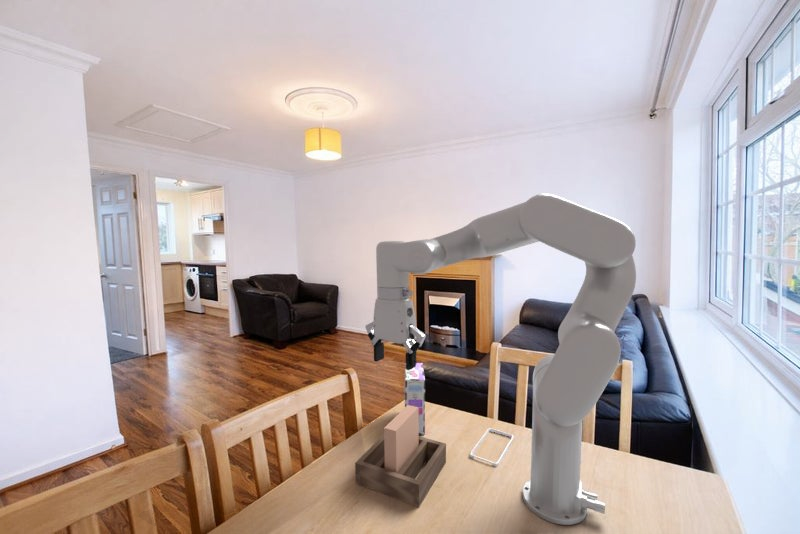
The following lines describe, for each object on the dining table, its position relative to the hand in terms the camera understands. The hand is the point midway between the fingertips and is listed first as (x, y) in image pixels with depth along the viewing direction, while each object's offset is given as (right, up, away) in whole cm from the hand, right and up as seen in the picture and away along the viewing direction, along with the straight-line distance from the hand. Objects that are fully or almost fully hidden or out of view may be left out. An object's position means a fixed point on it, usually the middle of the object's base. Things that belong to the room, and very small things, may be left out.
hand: (394, 364), depth 86 cm
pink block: (+2, -26, 0) cm, 26 cm away
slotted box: (+2, -26, 0) cm, 26 cm away
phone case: (+26, -26, +10) cm, 38 cm away
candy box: (+6, -24, +23) cm, 34 cm away
